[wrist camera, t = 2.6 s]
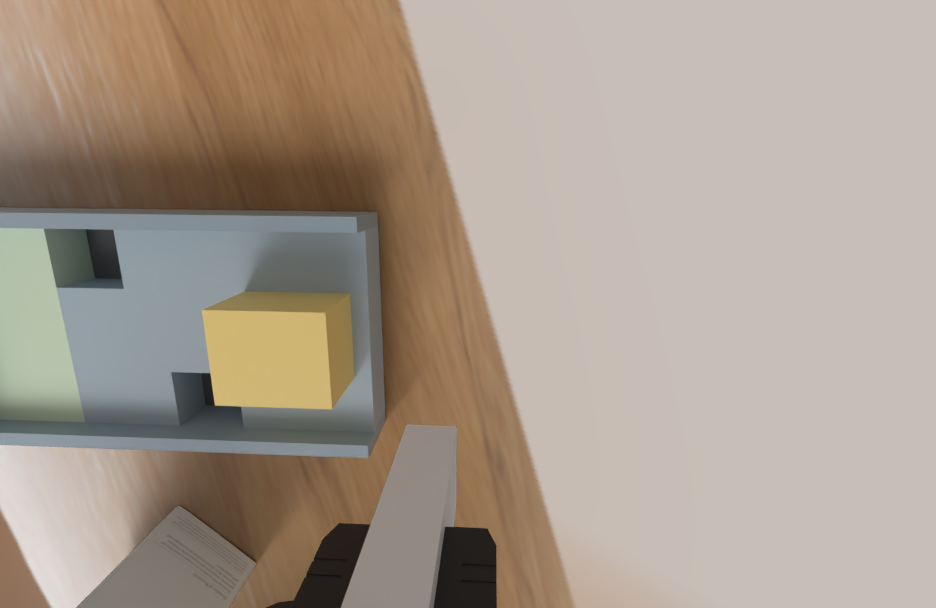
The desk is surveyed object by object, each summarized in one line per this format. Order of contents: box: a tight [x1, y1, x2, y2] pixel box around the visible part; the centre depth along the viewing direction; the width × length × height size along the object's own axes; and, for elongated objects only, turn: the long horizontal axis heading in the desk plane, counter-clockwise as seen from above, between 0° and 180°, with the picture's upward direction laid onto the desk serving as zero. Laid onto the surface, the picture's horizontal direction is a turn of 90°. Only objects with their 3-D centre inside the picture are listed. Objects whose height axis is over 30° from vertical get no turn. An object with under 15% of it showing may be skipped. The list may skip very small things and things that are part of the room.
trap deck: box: [0, 207, 386, 458], centre depth 27 cm, size 14×25×6 cm, turn 89°
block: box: [202, 291, 355, 409], centre depth 25 cm, size 5×6×4 cm
